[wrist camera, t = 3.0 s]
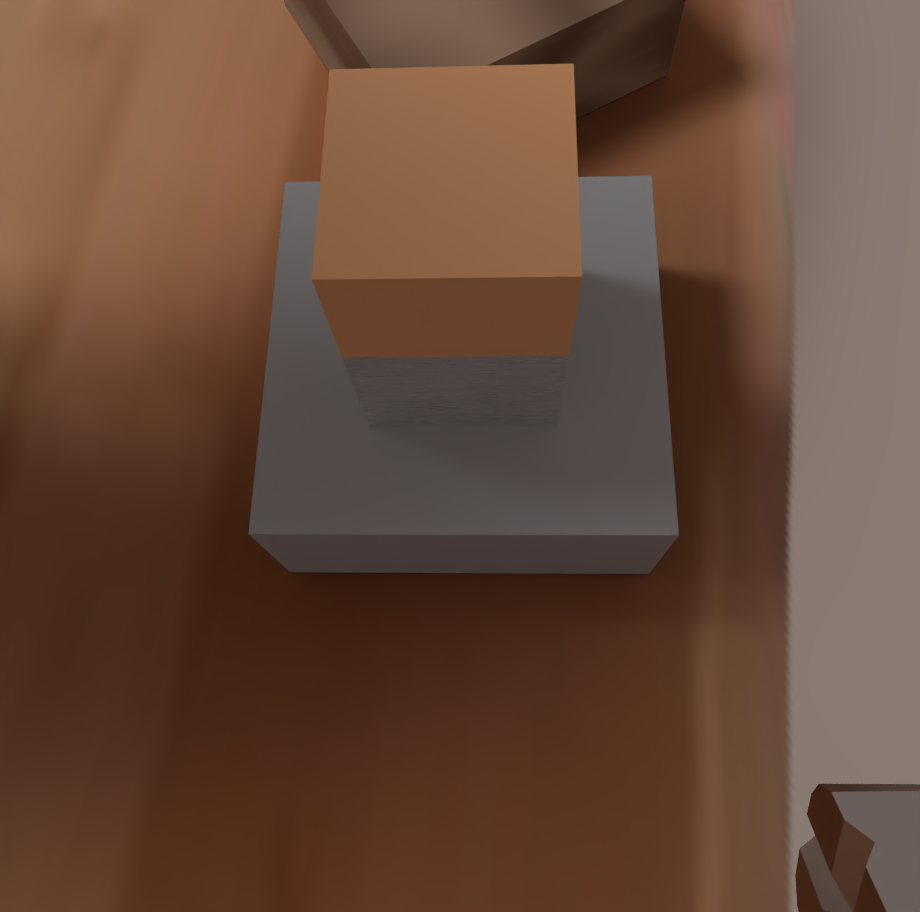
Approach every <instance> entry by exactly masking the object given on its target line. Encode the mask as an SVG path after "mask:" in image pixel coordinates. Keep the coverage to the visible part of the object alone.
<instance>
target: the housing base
mask: <svg viewBox="0 0 920 912" xmlns="http://www.w3.org/2000/svg"><path fill="white" fill-rule="evenodd" d="M342 359H343V362H344V364H345V367H346V369H347V372H348V374H349V377H350V380H351V382H352V385H353V387H354V390H355V392H356V395H357V398H358V400H359V403H360V405H361V408H362V410H363V413H364V416H365V418H366V421H367V423H368V426H369V427H500V426H557V425H558V419H559V413H560V407H561V401H562V395H563V389H564V383H565V377H566V371H567V365H568V359H569V356H457V357H342Z"/></svg>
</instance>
